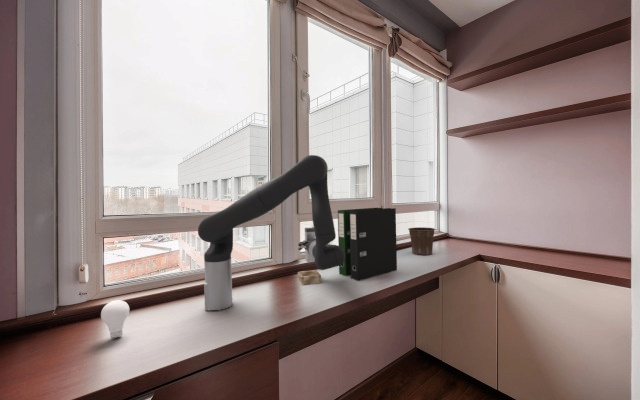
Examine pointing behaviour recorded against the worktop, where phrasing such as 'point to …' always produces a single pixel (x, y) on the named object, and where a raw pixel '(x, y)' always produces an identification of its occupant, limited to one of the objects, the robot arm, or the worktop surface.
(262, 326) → the worktop surface
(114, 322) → the light bulb
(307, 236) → the grey rectangular block
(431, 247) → the plant pot
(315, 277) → the holder
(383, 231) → the lever arch files
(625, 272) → the worktop surface
